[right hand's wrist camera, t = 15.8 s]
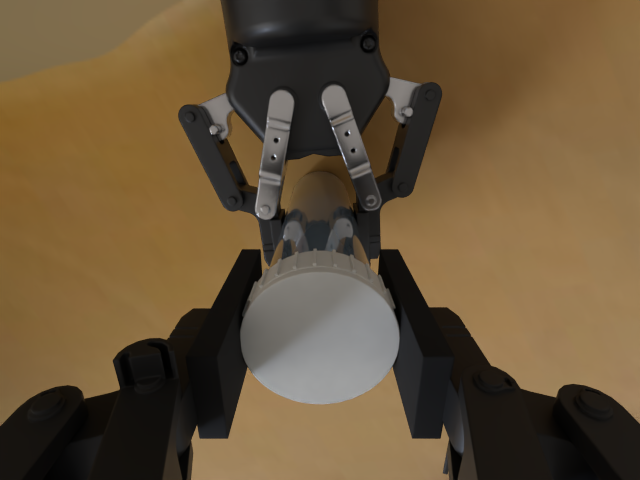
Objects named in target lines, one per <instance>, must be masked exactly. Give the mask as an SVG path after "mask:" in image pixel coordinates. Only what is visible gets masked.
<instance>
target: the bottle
mask: <svg viewBox="0 0 640 480" xmlns="http://www.w3.org/2000/svg"><path fill="white" fill-rule="evenodd" d="M313 249H317V251H331V252H332V250H336V252H337V253H341V254H345V255H348V256H350V255H354V258H355V259H357V260H359V261H360V262H362V263H364V264H366V263H368V264H369V261H368V258H367V255H366V252H365V248H364V245H363V242H362V238H361V235H360V232H359V229H358V225H357V222H356V219H355V216H354V212H353V209H352V206H351V202H350V199H349V196H348V193H347V189H346V187H345V185H344V184H343V182H342V181H341V180H340V179H339V178H338V177H337V176H335V175H333V174H331V173H328V172H324V171H316V172H312V173H309V174H307V175H305V176H303V177H302V178H301V179H300V180H299V181H298V182H297V184H296V185H295V187H294V190H293V193H292V196H291V199H290V202H289V206H288V209H287V212H286V215H285V219H284V222H283V225H282V228H281V232H280V235H279V238H278V241H277V245H276V248H275V251H274V254H273V258H272V261H271V264H270V267H269V269H270V268H271V267H272V266H273V265H275V264H276V263H277V262H278V259H280V258H281V259H282V260H283V259H285V258H287V257H290V256H292V255H295V252H297V251H298V253H303V252H308V251H313ZM369 266H370V265H369ZM370 269H371V268H370Z"/></svg>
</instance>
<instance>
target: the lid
mask: <svg viewBox="0 0 640 480" xmlns="http://www.w3.org/2000/svg"><path fill="white" fill-rule="evenodd" d="M395 308H396V307H395V305H394V302H393V299H392V297H391V294H390V291H389V289H388V288H387V289H386V288H385V286H384V283H383V280H382V278H381V276H380V275H378V276H377V275H376V273H374V272H373V271H372V270H371V269H370V266H369V264H368V263H366V264H364V263H362V262H360V261H359V260H357V259H355V258H354V255H350V256H348V255H345V254H341V253H337V252H336V250H332V252H331V251H317V249H313V251H308V252H303V253H298V251H297V252H295V255H292V256H290V257H287V258H285V259H283V260H282V259H281V258H280V259H278V262H277V263H276V264H275V265H273V266H272V267H271V268H270V269H269V270H268V269H265V270H264V273H263V276H262V277H261V278H260V279H259V281H258V282H256V281H255V283H254V285H253V288H252V290H251V293H250V296H249V297H248V299H247V302H246V305H245V307H244V310H243V313H242V316H243V320H242V324H241V328H240V340H241V349H242V355H243V358H244V360H245V362H246V364H247V366H248V368H249V369H250V371H251V372H252V374H253V375H254V376H255V377H256V378H257V379H258V380H259V381H260V382H261V383H262V384H263V385H264V386H266V387H267V388H268V389H270V390H271V391H273V392H275V393H277V394H278V395H281V396H283V397H285V398H288V399H291V400H294V401H298V402H303V403H310V404H330V403H337V402H342V401H346V400H349V399H352V398H355V397H357V396H359V395H362V394H363V393H365V392H367V391H369V390H370V389H371V388H373V387H374V386H376V385H377V384H378V383H379V382H380V381H381V380H382V379H383V378H384V377H385V376H386V375H387V373H388V372H389V371H390V369H391V367H392V366H393V364H394V362H395V360H396V357H397V354H398V350H399V342H400V329H399V325H398V321H397V318H396V315H395V312H394V309H395Z"/></svg>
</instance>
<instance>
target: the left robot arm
mask: <svg viewBox="0 0 640 480" xmlns="http://www.w3.org/2000/svg"><path fill="white" fill-rule="evenodd" d="M221 4H222V11H223V17H224V23H225V29H226V35H227V41H228V48H229V54H230V60H231V69H230V75H229V79H228V81H227V85H226V93H224V94H222V95H220V96H217V97H215V98H213V99H211V100H208V101H206V102H204V103H202V104H196V105H184V106H183V107H181V109H180V110H179V114H178V117H179V121H180V123H181V125H182V127H183V129H184V131H185V132H186V134H187V136H188V138H189V140H190V142H191V144H192V146H193V148H194V150H195V152H196V154H197V156H198V158H199V160H200V162H201V164H202V166H203V168H204V170H205V171H206V173H207V175H208V177H209V179H210V181H211V183H212V185H213V187H214V189H215V191H216V193H217V195H218V197H219V199H220V201H221V203H222V205H223V206H224V207H225V208H226V209H227V210H229V211H237V210H241V211H244V212H248V213H251V214H253V215H254V216H255V217H256V218H257V220H258V222H259V227H260V233H261V239H262V244H263V251H264V258H265V261H266V262H267V264H268V266H269V267H270V264H271V261H272V258H273V254H274V251H275V248H276V245H277V241H278V238H279V235H280V232H281V228H282V225H283V222H284V219H285V209H281V206H280V201H281V195H282V190H283V184H284V179H285V174H286V170H287V165H288V160H293V159H300V158H303V157H306V156H308V155H311V154H318V155H324V156H338V155H342V157H343V160H344V162H345V165H346V167H347V170H348V173H349V175H350V178H351V181H352V183H353V186H354V188H355V191H356V203H353V212H354V216H355V219H356V222H357V225H358V229H359V232H360V235H361V238H362V242H363V245H364V248H365V252H366V255H367V258H368V261H369V265H370V259H377V258H378V256H379V254H380V249H381V244H380V210H381V207H382V206H383V205H384V204H385V203H386V202H387V201H390V200H392V199H394V198H396V197H400V198H404V197H407V196H409V195H410V194H411V193H412V191H413V189H414V185H415V182H416V179H417V176H418V172H419V169H420V166H421V163H422V159H423V156H424V153H425V150H426V146H427V143H428V140H429V137H430V133H431V130H432V127H433V124H434V120H435V117H436V114H437V111H438V107H439V104H440V101H441V97H442V90H441V88H440V86H439V85H438V84H436V83H433V82H426V83H420V84H419V83H414V82H410V81H406V80H401V79H397V78H392V77H390V74H389V71H388V69H387V67H386V65H385V63H384V61H383V59H382V56H381V53H380V49H379V27H378V0H221ZM384 97H386V98H388V99H389V101H390V103H391V116H392V118H393V119H394V120H395V121H396V122H398V123H399V126H398V130H397V133H396V137H395V141H394V144H393V148H392V152H391V155H390V159H389V163H388V166H387V170H386V173H385V174H383V175H381V176H379V177H376V178H374V175H373V172H372V169H371V165H370V162H369V159H368V156H367V153H366V150H365V147H364V145H363V142H362V139H361V134H362V133H363V131H364V130H365V128H366V126H367V125H368V123H369V122H370V120H371V118H372V117H373V115H374V113H375V112H376V110H377V109H378V107H379V105H380V104H381V102H382V101H383V99H384ZM234 111H235V112H236V113H237V115H238V116H239V117H240V118H241V119H242V120H243V121H244V122H245V123H246V125H247V126H248V127H249V128H250V129H251V130H252V131H253V132H254V133H255V135H256V136H257V137H258V138H259V139H260V140H261V141H262V142H263V143H264V144H263V151H262V157H261V164H260V170H259V185H258V188H257V187H253V186H249V184H248V182H247V180H246V178H245V176H244V174H243V172H242V170H241V167H240V165H239V163H238V161H237V159H236V157H235V155H234V153H233V151H232V148H231V146H230V144H229V142H228V140H227V138H228V137H229V136H230V135H231V133H232V125H231V116H232V114H233V112H234Z"/></svg>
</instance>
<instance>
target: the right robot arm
mask: <svg viewBox="0 0 640 480" xmlns="http://www.w3.org/2000/svg"><path fill="white" fill-rule="evenodd" d="M378 275H380V276H381V278H382V280H383V283H384V286H385V288H386V289H387V288H388V289H389V291H390V294H391V297H392V299H393V302H394V305H395V307H396V308H395V309H394V312H395V315H396V318H397V321H398V325H399V329H400V342H399V350H398V354H397V357H396V360H395V362H394V364H393V370H394V374H395V377H396V381H397V384H398V388H399V392H400V395H401V399H402V403H403V406H404V410H405V414H406V417H407V421H408V425H409V428H410V432H411V435H412V438H423V439H440V438H441V433H442V427H443V423H444V426H445V429H446V431H447V434H448V436H449V443H448V448H447V453H446V458H445V464H444V470H443V473H444V474H448V472H449V480H640V424H639V423H638V422H637V421H636V420H635V419H634V418H633V417H632V416H631V414H630V413H629V412H628V411H627V410H626V409H625V408H624V407H623V406H621V405H620V404H619V403H618V402H617V401H615V400H614V399H613V398H612V397H610V396H608V395H606V394H604V393H603V392H601V391H599V390H596V389H593V388H591V387H588V386H584V385H577V384H570V385H564V386H563V387H562V388H560V389H559V391H558V394H557V397H551V396H547V395H543V394H538V393H534V392H530V391H527V390H523V389H520V387H519V386H518V384H517V383H516V381H515V380H514V379H513V378H512V377H511V376H510V375H508V374H507V373H506V372H504V371H502V370H500V369H498V368H496V367H493V366H491V365H490V363H489V362H488V360H487V359H486V357H485V356H484V354H483V353H482V351H481V350H480V348H479V347H478V345H477V343H476V342H475V340H474V339H473V337H471V334H470V333H469V331H468V330H467V328H465V325H464V323H463V322H462V320H461V319H460V317H459V316H458V315H456V314H455V313H454V312H452V311H451V310H450V309H448V308H447V307H428V305H427V303H426V301H425V299H424V297H423V296H422V294H421V292H420V290H419V288H418V286H417V284H416V282H415V281H414V279H413V277H412V275H411V273H410V271H409V269H408V267H407V265H406V264H405V262H404V260H403V258H402V256H401V254H400V252H399V250H398V249H380V254H379V268H378ZM261 277H262V265H261V251H260V249H242V251H241V253H240V255H239V256H238V258H237V260H236V262H235V264H234V266H233V268H232V270H231V272H230V273H229V275H228V277H227V279H226V281H225V283H224V285H223V287H222V289H221V290H220V292H219V294H218V296H217V298H216V300H215V302H214V304H213V305H212V307H211V309H192V310H191V311H189V312H188V313H187V314H185V315H184V316H183V317H182V318H181V319H180V321H179V322H178V324H177V325H176V327H175V329H174V330H173V331H172V333H171V335H170V338H168V339H167V340H165V339H161V338H150V339H145V340H141V341H138V342H135V343H133V344H131V345H129V346H127V347H126V348H124V349H123V350H122V351H120V352H119V353H118V354H117V355H116V357H115V358H114V359H113V363H114V367H115V371H116V374H117V378H118V382H119V385H120V390H118V391H115V392H112V393H108V394H103V395H99V396H95V397H91V398H86V399H84V396H83V393H82V391H81V390H80V389H79V388H78V387H75V386H68V385H66V386H59V387H54V388H51V389H49V390H46V391H43V392H41V393H39V394H37V395H35V396H34V397H32V398H30V399H29V400H27V401H26V402H25V403H24V404H22V405H21V406H20V407H19V408H18V409H17V410H16V411H15V412H14V413H13V414H12V415H11V416H10V417H9V418H8V419H7V420H6V421H5V422H4V423H3V424H2V425H1V426H0V480H191V473H192V461H193V448H192V443H191V439H192V436H193V434H194V431H195V428H196V426H198V432H199V437H200V439H228V436H229V433H230V429H231V425H232V422H233V418H234V414H235V411H236V407H237V403H238V400H239V396H240V393H241V389H242V385H243V382H244V378H245V374H246V371H247V367H248V366H247V364H246V362H245V360H244V358H243V355H242V349H241V340H240V328H241V324H242V320H243V316H242V313H243V310H244V307H245V305H246V302H247V299H248V297H249V296H250V293H251V290H252V288H253V285H254V283H255V281H256V282H258V281H259V279H260V278H261Z"/></svg>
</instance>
